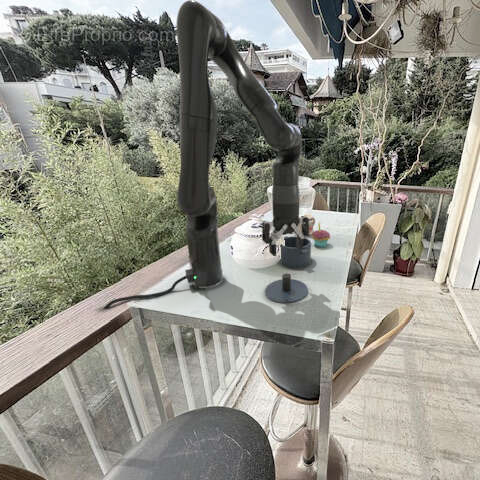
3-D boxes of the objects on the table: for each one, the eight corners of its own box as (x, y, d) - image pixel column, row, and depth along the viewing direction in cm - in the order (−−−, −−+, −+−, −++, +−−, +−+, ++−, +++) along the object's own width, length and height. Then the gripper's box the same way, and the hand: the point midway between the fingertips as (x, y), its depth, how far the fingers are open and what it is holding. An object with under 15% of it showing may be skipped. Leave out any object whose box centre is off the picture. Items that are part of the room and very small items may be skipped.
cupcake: (323, 249, 119) (324, 224, 115) (307, 245, 123) (308, 220, 119) (332, 244, 126) (334, 220, 122) (317, 240, 130) (318, 216, 126)
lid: (276, 310, 77) (275, 291, 75) (258, 288, 87) (258, 271, 85) (315, 297, 84) (316, 279, 82) (295, 278, 94) (295, 262, 92)
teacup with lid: (304, 237, 133) (304, 214, 129) (292, 232, 139) (292, 211, 135) (320, 232, 141) (321, 210, 137) (308, 227, 147) (309, 207, 143)
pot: (291, 274, 97) (290, 253, 94) (271, 256, 111) (270, 237, 108) (319, 267, 103) (320, 246, 100) (297, 250, 117) (297, 232, 114)
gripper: (301, 195, 81) (301, 243, 87) (256, 199, 74) (259, 252, 80) (314, 199, 75) (313, 251, 81) (267, 205, 68) (269, 262, 74)
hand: (286, 252), depth 81 cm, fingers open, 8 cm apart
